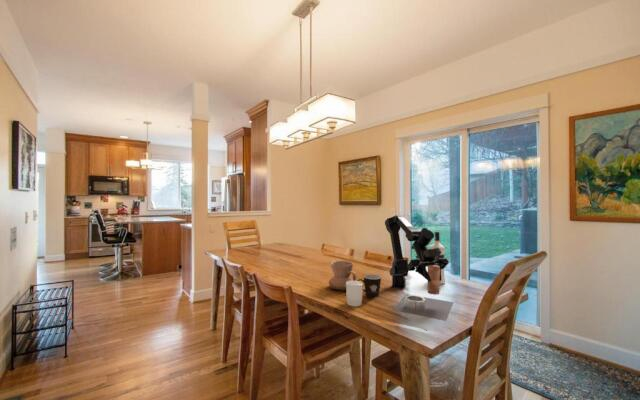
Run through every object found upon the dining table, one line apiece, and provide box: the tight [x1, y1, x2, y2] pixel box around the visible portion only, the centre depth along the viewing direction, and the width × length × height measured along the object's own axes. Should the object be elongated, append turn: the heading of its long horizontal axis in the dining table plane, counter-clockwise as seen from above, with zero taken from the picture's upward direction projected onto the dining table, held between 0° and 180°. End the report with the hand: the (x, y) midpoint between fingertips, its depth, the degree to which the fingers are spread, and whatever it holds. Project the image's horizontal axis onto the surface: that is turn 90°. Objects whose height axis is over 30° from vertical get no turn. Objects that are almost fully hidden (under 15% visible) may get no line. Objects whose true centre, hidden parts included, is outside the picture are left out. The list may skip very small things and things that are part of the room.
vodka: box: [428, 231, 446, 285], centre depth 173 cm, size 9×9×30 cm
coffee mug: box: [356, 274, 382, 300], centre depth 149 cm, size 12×9×10 cm
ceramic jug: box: [328, 260, 357, 292], centre depth 161 cm, size 18×14×14 cm
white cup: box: [345, 280, 364, 308], centre depth 138 cm, size 8×8×10 cm
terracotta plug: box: [427, 265, 441, 296], centre depth 132 cm, size 5×5×12 cm
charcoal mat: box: [391, 294, 454, 321], centre depth 133 cm, size 22×24×1 cm
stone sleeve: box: [405, 294, 425, 311], centre depth 131 cm, size 8×8×4 cm
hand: (435, 280), depth 131 cm, fingers closed on terracotta plug, 5 cm apart
